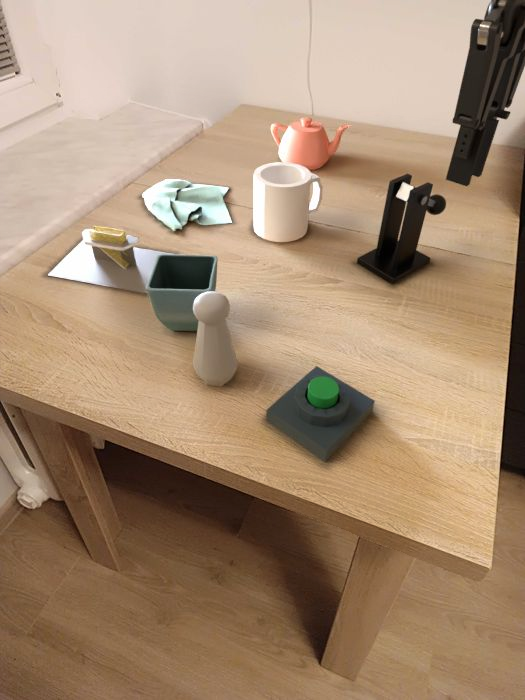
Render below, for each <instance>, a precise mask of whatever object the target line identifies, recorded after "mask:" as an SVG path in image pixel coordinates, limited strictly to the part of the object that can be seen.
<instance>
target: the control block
mask: <svg viewBox="0 0 525 700" xmlns="http://www.w3.org/2000/svg"><path fill="white" fill-rule="evenodd" d="M316 377H328V378H331V379H333V380H334V381H335V382H336V383H337V384H338V386H339V393H338V399H337V402H336V404H335V405H334V406H332V407H330V408H325V409H322V408H317V407H315V406H313V405H312V404H311V403H310V402H309V400H308V397H307V394H308V385H309V383H310V381H311V380H313V379H314V378H316ZM375 401H376V400H375V399H373V398H371V397H369V396H367V395H366V394H364V393H363V392H361V391H359V390H358V389H356V388H354V387H353V386H351V385H349V384H347V383H346V382H345V381H342V380H341V379H339V378H338V377H336V376H334V375H333V374H331V373H329V372H328V371H326V370H324V369H323V368H321V367H320V366H318V365H316V366H314V367H313V368H312V369H311V370H310V371H309V372H308V373H307V374H305V375H304V376H303V377H302V378H301V379H300V380H299V381H297V382H296V383H295V384H294V385H293V386H292V387H290V389H288V390H287V391H286V392H285V393H284V394H283V395H282V396H280V397H279V398H278V399H277V400H276V401H275V402H273V403H272V404H271V405H270V406H269V407H268V408H267V409H266V412H265V413H266V414H265V415H266V416H265V417H266V418H265V419H266V420H265V421H266V422H267V423H269V424H270V425H271V426H273V427H274V428H275V429H277V430H278V431H280V432H281V433H283V434H284V435H286V436H287V437H289V438H290V439H291V440H293V441H294V442H296V443H297V444H298V445H300V446H301V447H302V448H303V449H306V450H307V451H308V452H309V453H311V454H313V456H315V457H316V458H318V459H319V460H321V461H322V462H324V463H326V462H327V461H328V460H329V459H330V458H331V456H332V455H334V453H335V452H336V451H337V450H338V449H339V448H340V447H341V446H342V445H343V444H344V443H345V442H346V440H348V439H349V438H350V436H352V435H353V433H354V432H355V431H356V430H357V429H358V428H359V427H360V425H362V423H364V421H365V420H366V419H367V418H368V417H369V416H370V415H371V414H372V413H373V409H374V406H375Z"/></svg>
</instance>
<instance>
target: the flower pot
mask: <svg viewBox="0 0 525 700" xmlns="http://www.w3.org/2000/svg"><path fill="white" fill-rule="evenodd" d="M174 254H175V253H172V254H159V255H158V256H157V258H156V261H155V264H154V267H153V270H152V272H151V275H150V278H149V281H148V283H147V286H146V290H147V293H146V294H147V295H148V298H149V299H148V300H149V301H150V304H151V307H152V310H153V312H154V314H155V317H156V319H158V321H159V322H160V323H161V324H162V325H163V326H164V327H165V328H167V329H168V330H170V331H177V332H178V331H180V332H181V331H183V332H197V330H198V322H199V320H198V319H197V318H196V316H195V314H194V311H193V304H194V300H195V299H196V298H197V297H198V296H199V295H200V294H202V293H205V292H209V291H215V292H216V290H217V279H218V276H217V275H218V261H219V260H218V259H219V258H218V256H217V255H210V254H207V255H206V254H175V255H174Z"/></svg>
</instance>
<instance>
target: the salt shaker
mask: <svg viewBox="0 0 525 700" xmlns="http://www.w3.org/2000/svg"><path fill="white" fill-rule="evenodd" d="M230 310H231V306H230V301H229V299H228V297H227V296H226V295H225V294H223V293H221V292H219V291H216V290H215V291H209V292H205V293H202V294H200V295H199V296H198V297H197V298H196V299H195V300H194V304H193V311H194V314H195V316H196V318H197V319H198V320H199V322H198V330H197V331H196V339H195V347H194V353H193V360H192V361H193V362H192V367H193V368H194V371H195V373H196V375H197V376H198V377H200V378H201V379H202V381H204V383H205V384H206V385H207V386H212V387H213V386H214V387H223V386H224V385H225V384H227V383H228V382H230V381H231V380H232V379H233V378H234V375H235V373H236V371H237V368H238V363H239V360H238V357H237V354H236V350H235V346H234V344H233V340H232V337H231V334H230V330H229V327H228V324H227V323H228V322H227V320H226V319H227V318H228V317H229V315H230Z"/></svg>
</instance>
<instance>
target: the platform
mask: <svg viewBox="0 0 525 700" xmlns="http://www.w3.org/2000/svg"><path fill="white" fill-rule="evenodd" d="M92 227H93V229H92V228H85V229H84V230H83V231H82V232H81V236H82V240H81V241H80V242H79V243H78V244H77V245H76V246H75V247H74V248H73V249H72V250H71V251H70V252H69V253H68V254H67V255H65V256H64V258H63V259H61V261H60V262H59V263H58V264H57V265H56V266H55V267H54V268H53V269H52V270H51V271H50V272H49V273H48V274H47V276H50V277H55V278H61V279H66V280H71V281H77V282H82V283H88V284H93V285H97V286H98V285H99V286H102V287H103V286H104V287H108V288H114V289H120V290H124V291H125V290H126V291H132V292H136V293H142V294H148V293H147V290H146V286H147V283H148V281H149V278H150V275H151V272H152V270H153V267H154V264H155V261H156V258H157V256H158V255H159V254H174V255H176V253H171V252H165V251H159V250H153V249H148V248H141V247H136V246H137V245H138V243H139V242H140V237H139V236H135V235H130V234H129V235H128V234H126V230H123V229H118V228H112V227H106V226H99V225H93V226H92Z"/></svg>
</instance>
